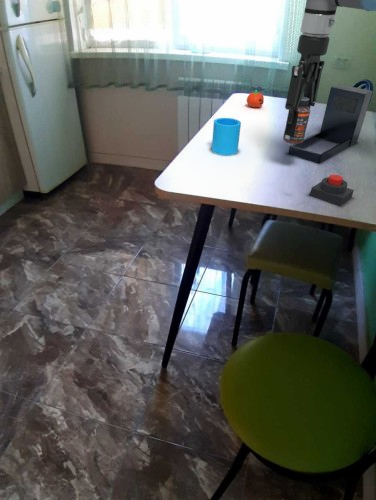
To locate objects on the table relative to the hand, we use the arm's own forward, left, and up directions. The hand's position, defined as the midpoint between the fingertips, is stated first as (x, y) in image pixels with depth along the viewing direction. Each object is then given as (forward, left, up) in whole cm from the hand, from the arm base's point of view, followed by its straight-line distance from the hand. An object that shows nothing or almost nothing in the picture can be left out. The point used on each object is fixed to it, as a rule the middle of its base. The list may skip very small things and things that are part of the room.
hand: (294, 132), depth 119 cm
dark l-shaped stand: (0, -24, -10) cm, 26 cm away
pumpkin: (+44, -48, -10) cm, 66 cm away
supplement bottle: (0, 0, -3) cm, 3 cm away
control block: (-19, +10, -10) cm, 24 cm away
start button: (-19, +10, -6) cm, 22 cm away
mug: (+23, +1, -10) cm, 25 cm away
